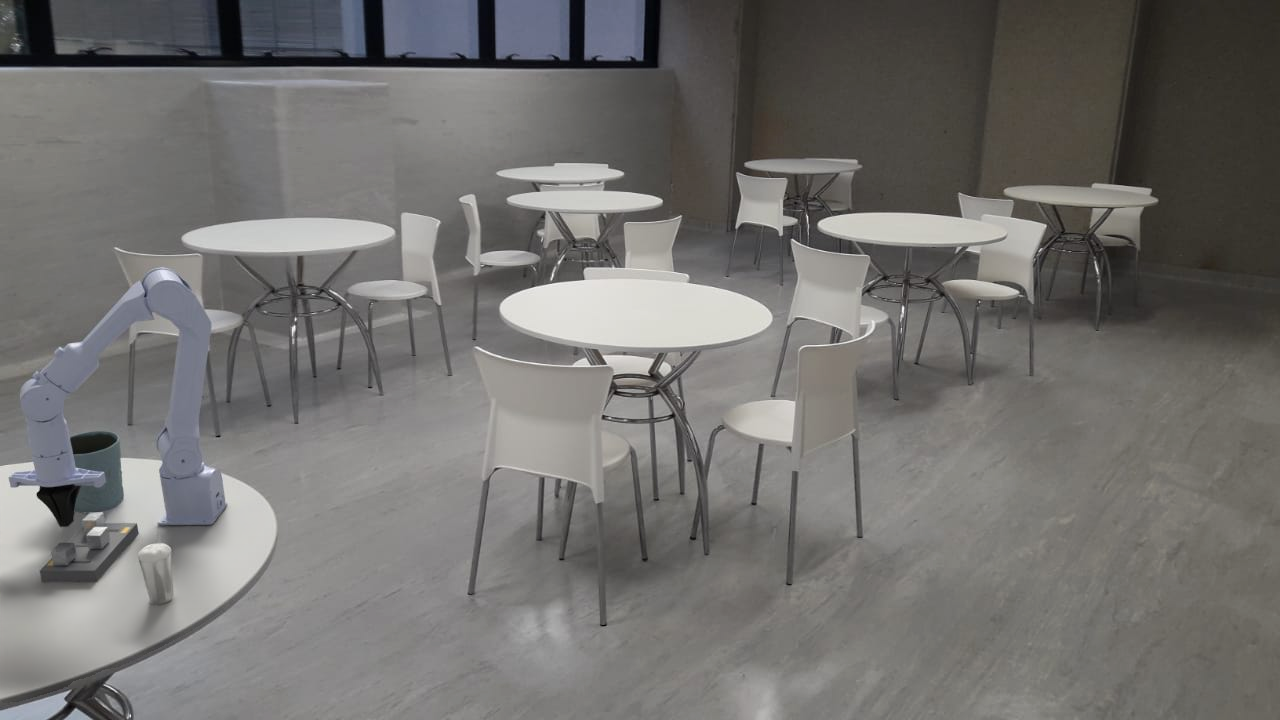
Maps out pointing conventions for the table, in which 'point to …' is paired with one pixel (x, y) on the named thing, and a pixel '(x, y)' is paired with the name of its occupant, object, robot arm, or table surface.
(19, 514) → the table surface
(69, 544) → the knob
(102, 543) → the knob
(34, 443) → the robot arm
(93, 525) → the knob
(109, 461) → the teal plant pot
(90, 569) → the switch panel
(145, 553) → the milkshake
